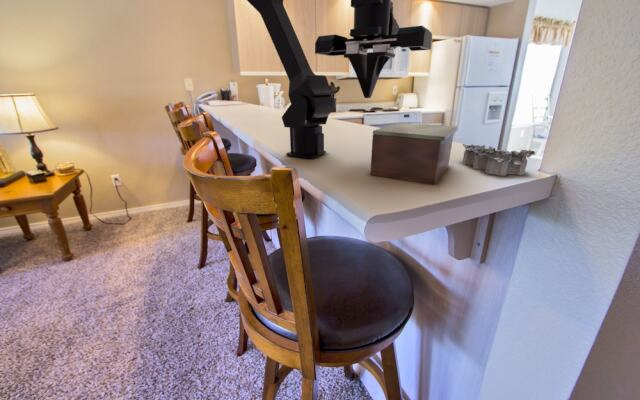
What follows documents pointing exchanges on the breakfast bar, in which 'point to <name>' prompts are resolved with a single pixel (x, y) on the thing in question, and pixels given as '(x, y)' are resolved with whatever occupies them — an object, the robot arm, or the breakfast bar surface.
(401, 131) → the lid
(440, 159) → the box
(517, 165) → the egg carton
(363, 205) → the breakfast bar surface
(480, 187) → the breakfast bar surface
